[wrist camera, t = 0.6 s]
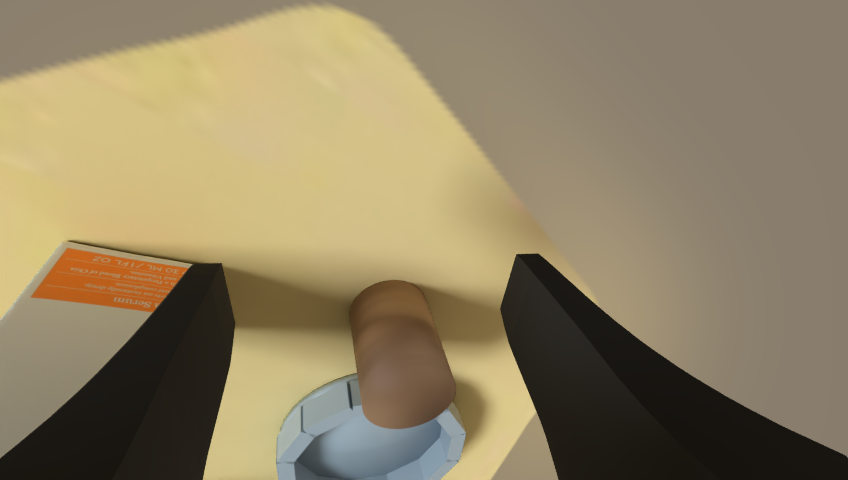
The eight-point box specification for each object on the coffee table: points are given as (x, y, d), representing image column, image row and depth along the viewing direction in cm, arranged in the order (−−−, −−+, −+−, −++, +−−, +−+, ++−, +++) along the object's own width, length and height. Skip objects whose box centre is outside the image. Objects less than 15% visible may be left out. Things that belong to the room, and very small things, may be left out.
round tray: (338, 497, 35) (340, 530, 33) (239, 426, 28) (235, 463, 26) (476, 430, 35) (487, 460, 33) (410, 341, 27) (419, 372, 25)
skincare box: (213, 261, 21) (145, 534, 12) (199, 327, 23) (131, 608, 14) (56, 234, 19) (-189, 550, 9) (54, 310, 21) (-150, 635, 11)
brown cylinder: (372, 349, 27) (389, 440, 22) (334, 304, 25) (343, 396, 20) (438, 316, 27) (469, 401, 22) (406, 267, 24) (434, 351, 19)
